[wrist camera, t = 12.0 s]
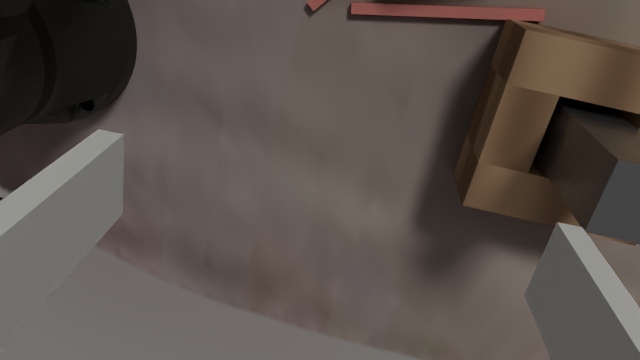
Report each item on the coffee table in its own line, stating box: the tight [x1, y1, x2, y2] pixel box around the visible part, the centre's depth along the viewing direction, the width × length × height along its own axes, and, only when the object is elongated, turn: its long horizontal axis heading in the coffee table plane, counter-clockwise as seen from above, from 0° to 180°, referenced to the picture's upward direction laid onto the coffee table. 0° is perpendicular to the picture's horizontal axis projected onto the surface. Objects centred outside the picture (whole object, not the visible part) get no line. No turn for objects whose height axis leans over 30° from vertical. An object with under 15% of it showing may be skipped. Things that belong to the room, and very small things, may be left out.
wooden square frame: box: [454, 19, 640, 245], centre depth 39 cm, size 13×13×6 cm
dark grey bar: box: [534, 96, 640, 244], centre depth 35 cm, size 4×4×15 cm
